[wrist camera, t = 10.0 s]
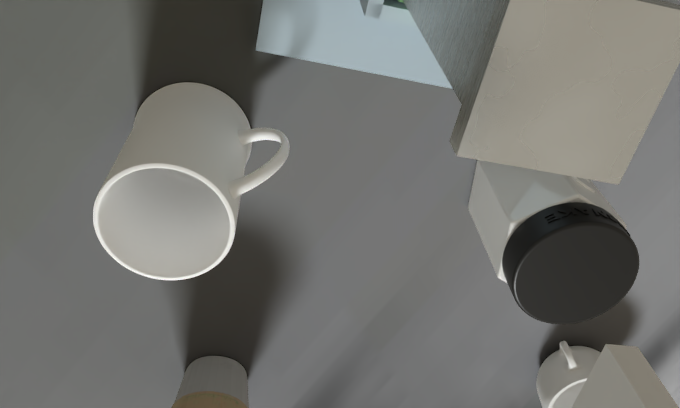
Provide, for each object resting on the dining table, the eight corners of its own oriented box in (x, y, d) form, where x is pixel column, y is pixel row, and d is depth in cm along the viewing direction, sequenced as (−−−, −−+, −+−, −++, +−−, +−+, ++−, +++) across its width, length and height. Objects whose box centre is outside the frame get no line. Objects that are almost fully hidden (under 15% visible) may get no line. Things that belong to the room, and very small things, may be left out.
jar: (597, 172, 51) (672, 262, 40) (527, 244, 54) (581, 345, 44) (512, 115, 48) (571, 196, 37) (444, 195, 51) (481, 290, 41)
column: (381, -4, 35) (456, 155, 19) (406, -106, 33) (519, -27, 16) (471, 15, 36) (618, 184, 20) (502, -83, 34) (703, 15, 17)
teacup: (615, 376, 63) (640, 421, 58) (539, 402, 64) (558, 447, 59) (593, 305, 58) (618, 348, 53) (511, 335, 59) (529, 378, 55)
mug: (276, 57, 45) (269, 129, 34) (307, 163, 49) (310, 255, 39) (115, 97, 45) (61, 179, 35) (160, 198, 50) (124, 297, 39)
